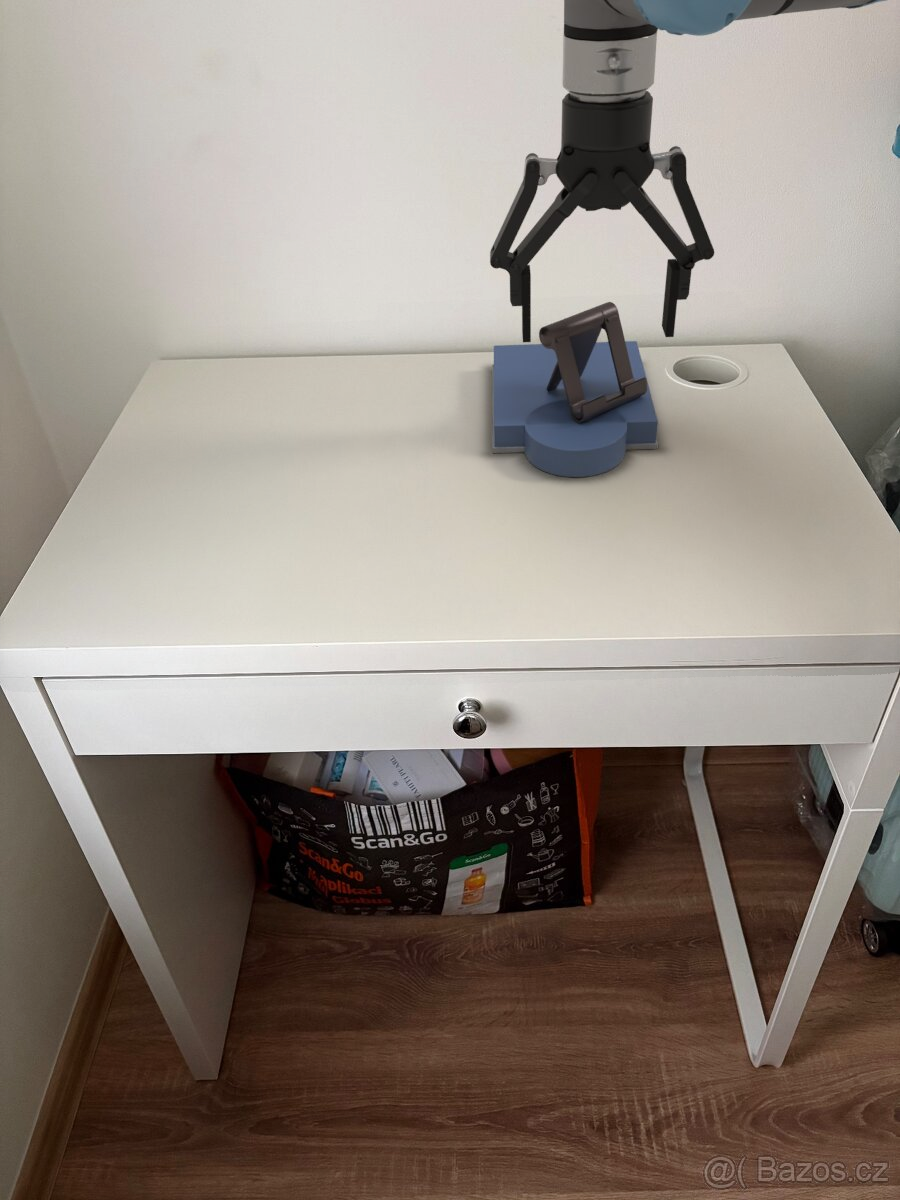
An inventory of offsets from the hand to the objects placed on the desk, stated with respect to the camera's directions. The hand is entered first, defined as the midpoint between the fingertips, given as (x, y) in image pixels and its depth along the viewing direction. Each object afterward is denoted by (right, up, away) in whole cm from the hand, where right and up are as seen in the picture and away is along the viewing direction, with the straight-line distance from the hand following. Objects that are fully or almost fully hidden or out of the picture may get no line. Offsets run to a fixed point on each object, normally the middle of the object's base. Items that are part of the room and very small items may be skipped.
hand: (596, 334), depth 94 cm
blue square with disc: (-2, -6, +8) cm, 10 cm away
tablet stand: (0, -5, +5) cm, 7 cm away
